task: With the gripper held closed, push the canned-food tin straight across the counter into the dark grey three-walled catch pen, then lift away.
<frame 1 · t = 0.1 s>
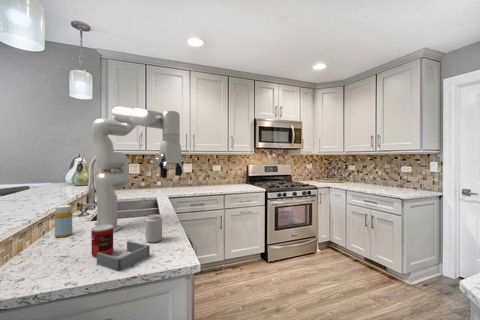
hand: (171, 176, 105), 31 cm above the worktop, fingers open, 9 cm apart
canned food: (102, 253, 96), on the worktop
can: (154, 240, 110), on the worktop
catch pen: (124, 259, 90), on the worktop
bottle: (63, 236, 116), on the worktop
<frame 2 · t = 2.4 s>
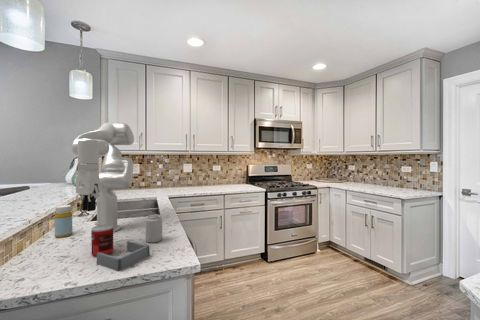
hand: (88, 209, 99), 17 cm above the worktop, fingers closed
nothing on the worktop moved.
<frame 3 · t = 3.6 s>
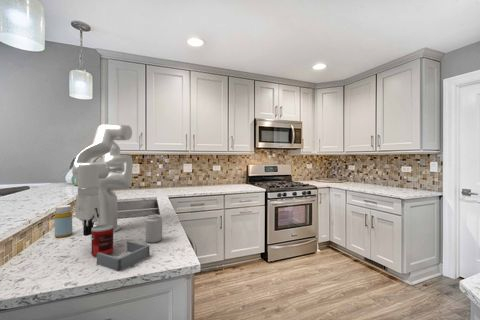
hand: (88, 234, 98), 7 cm above the worktop, fingers closed
nothing on the worktop moved.
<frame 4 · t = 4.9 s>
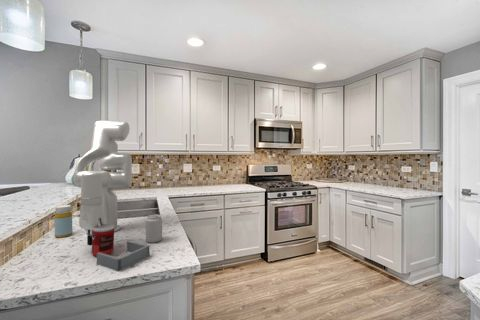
hand: (92, 244, 98), 3 cm above the worktop, fingers closed
canned food: (102, 253, 96), on the worktop, touching gripper
everything else where it was.
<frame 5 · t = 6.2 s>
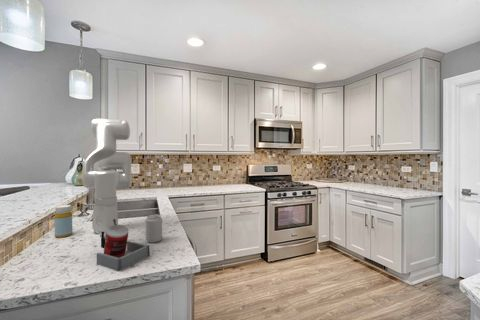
hand: (106, 246, 94), 4 cm above the worktop, fingers closed
canned food: (114, 254, 92), point 1 cm above the worktop, touching gripper
everything else where it was.
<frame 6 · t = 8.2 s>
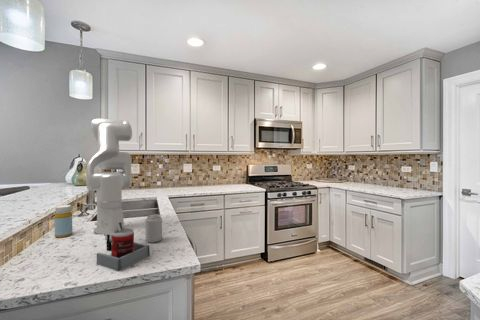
hand: (111, 249, 93), 3 cm above the worktop, fingers closed
canned food: (122, 259, 90), resting in catch pen, touching gripper
everything else where it was.
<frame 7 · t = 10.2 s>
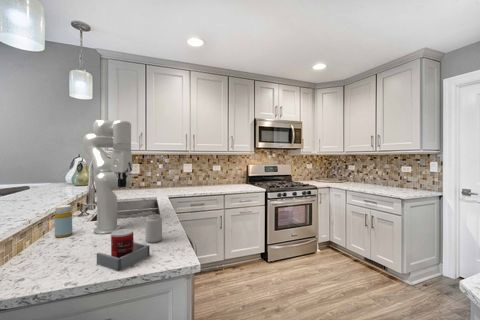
hand: (122, 186, 108), 26 cm above the worktop, fingers closed
canned food: (122, 260, 90), resting in catch pen
everything else where it was.
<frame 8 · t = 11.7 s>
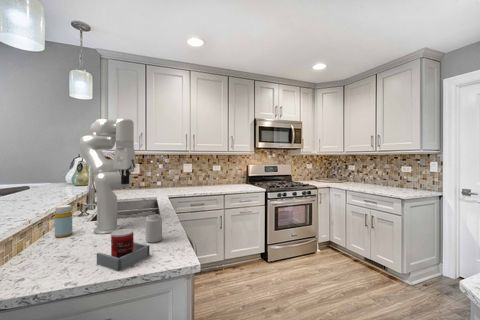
hand: (125, 184, 109), 27 cm above the worktop, fingers closed
nothing on the worktop moved.
at the end: canned food inside the target area on the catch pen (0.5 cm from its centre), point 0.0 cm above the catch pen's base; canned food moved 12.6 cm from its start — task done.
